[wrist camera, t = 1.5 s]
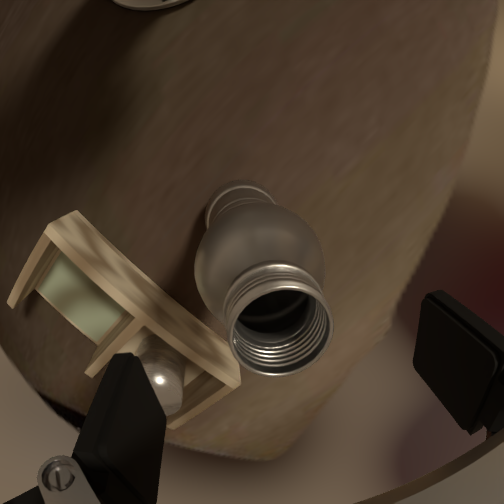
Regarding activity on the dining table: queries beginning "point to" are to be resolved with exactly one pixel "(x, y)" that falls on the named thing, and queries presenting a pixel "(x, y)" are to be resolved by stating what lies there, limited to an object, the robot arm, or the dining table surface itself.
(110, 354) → the divider rack
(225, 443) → the dining table surface
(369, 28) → the dining table surface
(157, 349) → the grey short cylinder
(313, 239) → the plastic bottle
